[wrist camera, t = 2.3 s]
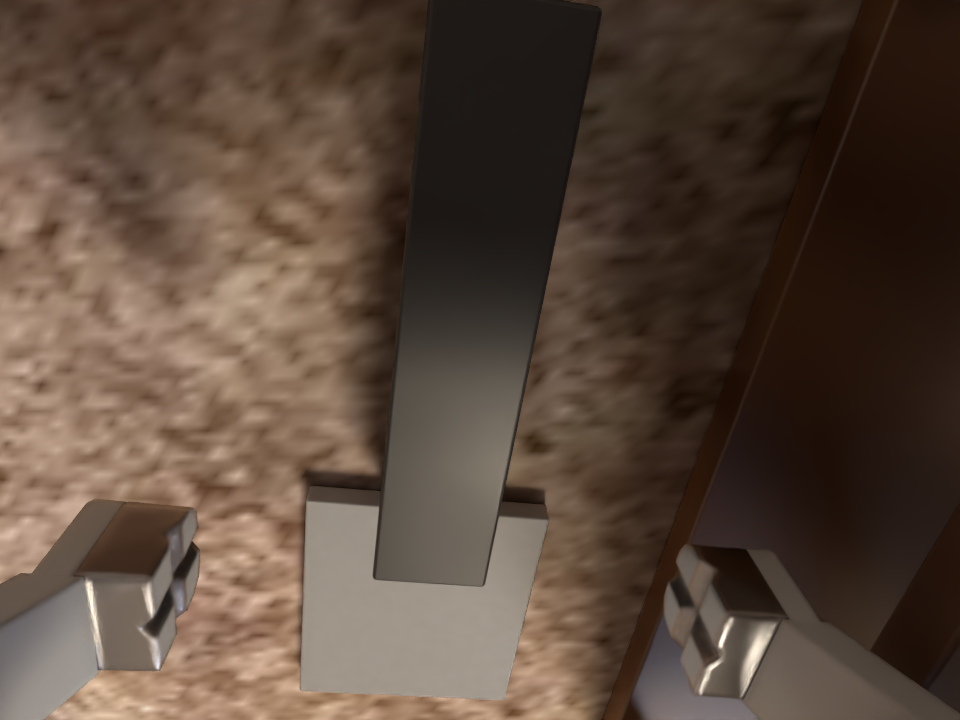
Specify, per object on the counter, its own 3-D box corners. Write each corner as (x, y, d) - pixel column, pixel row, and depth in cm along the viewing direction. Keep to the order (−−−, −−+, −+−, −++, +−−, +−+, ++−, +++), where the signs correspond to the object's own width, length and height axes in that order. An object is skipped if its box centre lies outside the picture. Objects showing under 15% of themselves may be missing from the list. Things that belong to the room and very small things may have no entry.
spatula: (329, -28, 11) (292, -49, 8) (662, 30, 12) (727, 28, 9) (303, 673, 19) (280, 778, 16) (502, 683, 20) (512, 785, 17)
